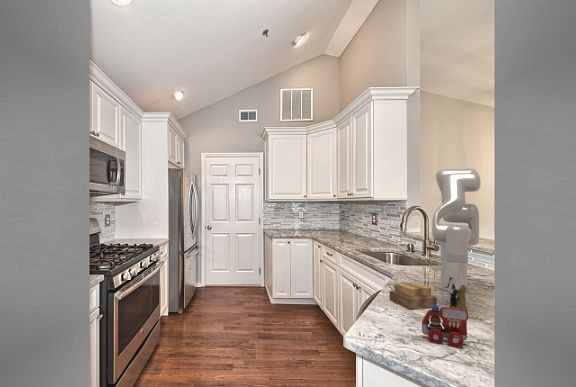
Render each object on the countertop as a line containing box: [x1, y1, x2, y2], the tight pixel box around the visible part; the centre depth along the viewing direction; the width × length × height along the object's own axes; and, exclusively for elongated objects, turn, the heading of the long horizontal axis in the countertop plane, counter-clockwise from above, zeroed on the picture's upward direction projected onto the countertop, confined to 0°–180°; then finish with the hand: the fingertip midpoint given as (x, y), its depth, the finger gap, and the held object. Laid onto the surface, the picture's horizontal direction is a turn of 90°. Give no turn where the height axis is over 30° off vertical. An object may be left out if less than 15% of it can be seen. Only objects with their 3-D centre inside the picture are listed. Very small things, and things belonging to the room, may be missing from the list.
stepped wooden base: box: [389, 281, 438, 311], centre depth 129 cm, size 13×13×8 cm
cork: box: [449, 285, 468, 311], centre depth 118 cm, size 6×6×11 cm
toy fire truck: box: [421, 304, 469, 348], centre depth 93 cm, size 7×12×10 cm, turn 64°
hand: (457, 306), depth 118 cm, fingers closed on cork, 2 cm apart
